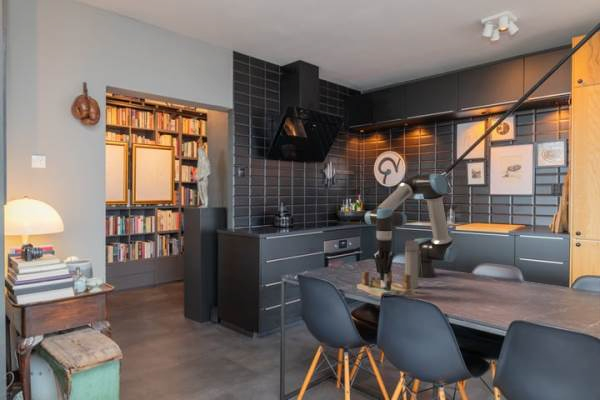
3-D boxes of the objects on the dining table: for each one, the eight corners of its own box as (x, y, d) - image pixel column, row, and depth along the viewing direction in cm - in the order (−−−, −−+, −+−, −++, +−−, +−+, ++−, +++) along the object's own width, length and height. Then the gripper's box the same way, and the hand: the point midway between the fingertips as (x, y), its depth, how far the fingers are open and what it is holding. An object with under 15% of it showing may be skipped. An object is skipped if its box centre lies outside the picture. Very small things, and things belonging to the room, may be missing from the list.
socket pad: (386, 286, 203) (386, 286, 203) (399, 291, 194) (399, 290, 194) (370, 288, 199) (370, 287, 199) (382, 293, 190) (382, 292, 190)
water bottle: (402, 288, 209) (403, 241, 209) (406, 285, 216) (406, 240, 216) (420, 290, 205) (421, 242, 204) (423, 287, 212) (423, 241, 211)
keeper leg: (372, 285, 205) (372, 276, 205) (391, 290, 195) (391, 281, 195) (368, 286, 203) (368, 277, 203) (387, 290, 193) (387, 282, 193)
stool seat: (389, 284, 217) (389, 268, 217) (414, 293, 198) (415, 275, 198) (357, 287, 208) (357, 271, 208) (380, 297, 189) (381, 278, 189)
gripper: (380, 240, 188) (380, 289, 188) (398, 239, 195) (398, 286, 195) (369, 239, 194) (368, 286, 194) (387, 238, 201) (387, 283, 201)
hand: (383, 286), depth 194 cm, fingers closed
